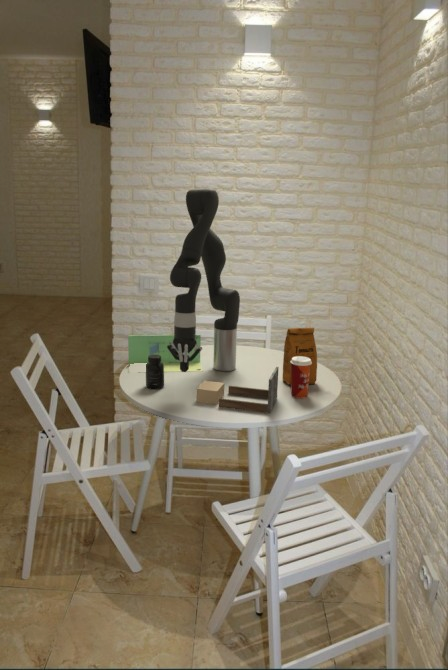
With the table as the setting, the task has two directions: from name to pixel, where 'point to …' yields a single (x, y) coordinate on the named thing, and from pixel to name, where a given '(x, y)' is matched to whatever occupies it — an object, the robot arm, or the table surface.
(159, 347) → the display stand
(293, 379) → the paper cup
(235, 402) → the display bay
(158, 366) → the supplement bottle
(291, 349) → the coffee package
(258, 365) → the table surface
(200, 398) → the carton
